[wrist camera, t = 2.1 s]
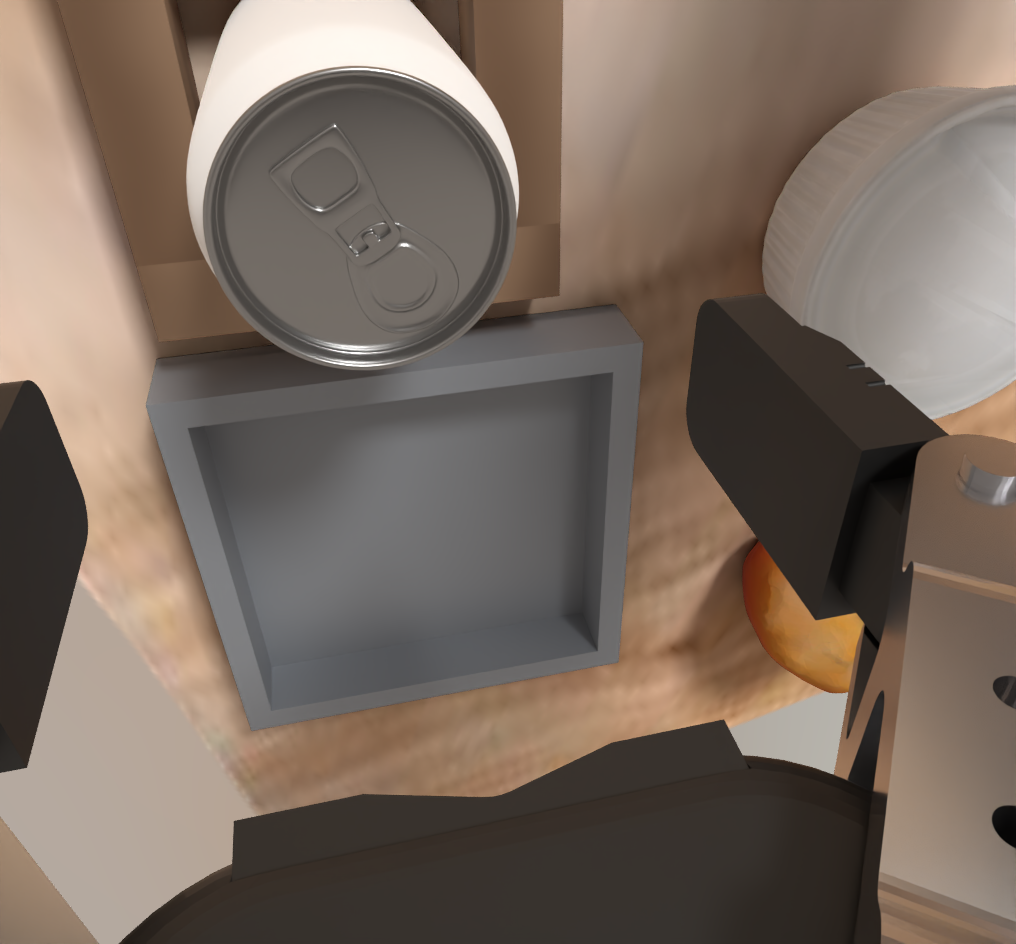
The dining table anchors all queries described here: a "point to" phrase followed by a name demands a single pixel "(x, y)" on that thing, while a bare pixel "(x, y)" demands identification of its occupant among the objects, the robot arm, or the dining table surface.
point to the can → (350, 181)
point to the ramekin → (908, 242)
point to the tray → (408, 510)
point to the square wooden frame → (174, 106)
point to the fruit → (798, 627)
